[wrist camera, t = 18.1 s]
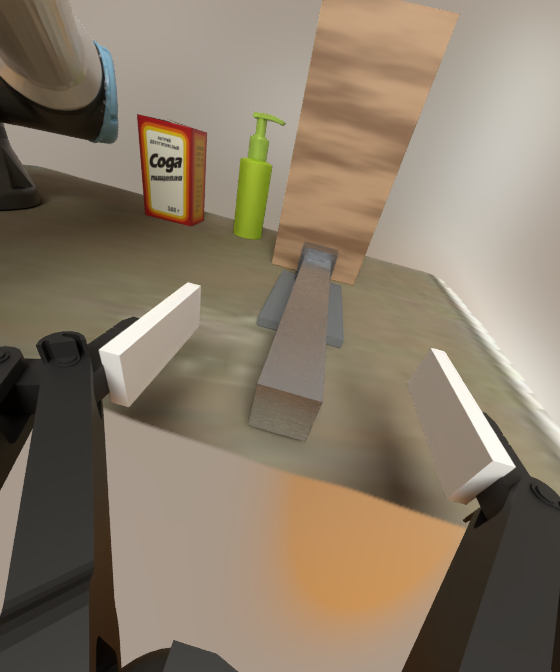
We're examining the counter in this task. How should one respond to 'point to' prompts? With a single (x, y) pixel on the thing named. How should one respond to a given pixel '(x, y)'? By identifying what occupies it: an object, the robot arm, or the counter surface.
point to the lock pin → (297, 351)
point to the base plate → (280, 298)
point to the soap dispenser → (254, 182)
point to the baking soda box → (172, 170)
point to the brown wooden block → (357, 123)
